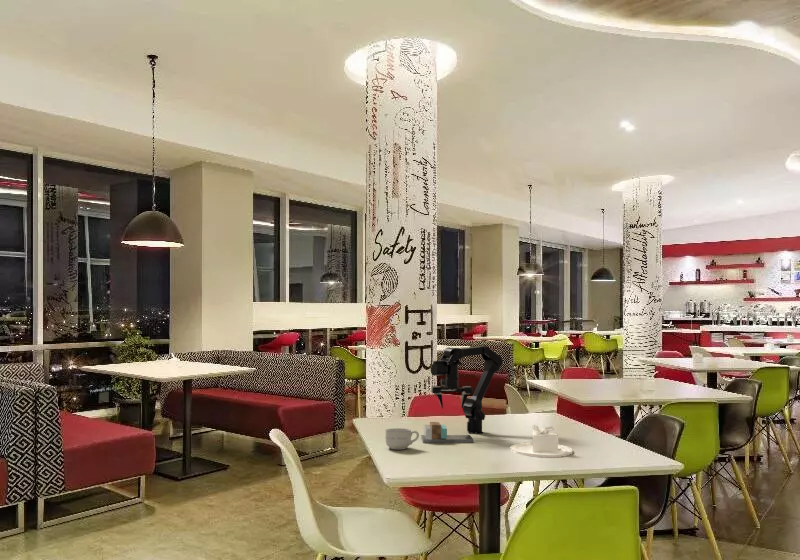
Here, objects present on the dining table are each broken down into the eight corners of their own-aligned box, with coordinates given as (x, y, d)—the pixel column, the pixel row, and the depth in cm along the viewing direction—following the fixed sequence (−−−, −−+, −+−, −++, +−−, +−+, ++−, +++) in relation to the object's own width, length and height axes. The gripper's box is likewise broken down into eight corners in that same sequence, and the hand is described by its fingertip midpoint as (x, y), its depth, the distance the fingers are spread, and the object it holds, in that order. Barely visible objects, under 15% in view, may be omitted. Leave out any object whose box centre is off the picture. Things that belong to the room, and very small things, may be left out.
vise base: (469, 438, 290) (469, 424, 290) (473, 442, 280) (473, 428, 280) (421, 438, 288) (421, 424, 289) (423, 442, 278) (423, 428, 279)
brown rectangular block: (438, 435, 288) (438, 421, 288) (440, 438, 280) (440, 424, 280) (429, 435, 288) (429, 421, 288) (431, 438, 280) (431, 424, 280)
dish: (583, 457, 254) (582, 428, 255) (522, 459, 250) (522, 429, 251) (557, 444, 278) (557, 418, 279) (502, 446, 274) (502, 419, 275)
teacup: (381, 450, 263) (381, 430, 264) (390, 445, 273) (390, 426, 274) (413, 452, 258) (413, 432, 259) (421, 447, 269) (422, 428, 269)
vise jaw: (444, 434, 289) (444, 424, 289) (446, 438, 279) (446, 428, 279) (438, 434, 289) (438, 424, 289) (441, 438, 279) (441, 428, 279)
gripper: (468, 373, 308) (468, 406, 307) (430, 373, 307) (429, 406, 306) (473, 375, 297) (473, 409, 296) (432, 375, 296) (432, 409, 295)
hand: (451, 408), depth 299 cm, fingers open, 9 cm apart
